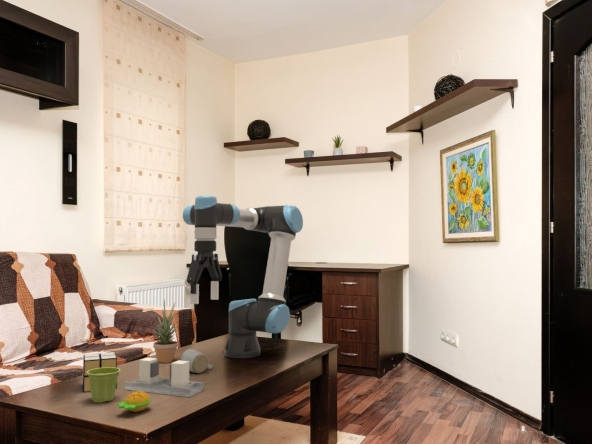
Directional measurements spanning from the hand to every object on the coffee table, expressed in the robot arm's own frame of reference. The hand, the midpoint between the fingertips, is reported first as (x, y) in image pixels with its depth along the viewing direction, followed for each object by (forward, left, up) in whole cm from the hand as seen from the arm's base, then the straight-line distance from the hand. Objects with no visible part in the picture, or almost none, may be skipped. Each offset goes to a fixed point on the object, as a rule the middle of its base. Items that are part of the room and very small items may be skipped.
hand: (204, 301), depth 174 cm
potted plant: (-19, -29, -27) cm, 44 cm away
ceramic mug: (-10, -9, -27) cm, 30 cm away
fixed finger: (+15, -12, -25) cm, 32 cm away
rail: (+15, -6, -27) cm, 31 cm away
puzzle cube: (+19, -28, -27) cm, 43 cm away
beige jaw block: (+15, 0, -26) cm, 30 cm away
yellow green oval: (+36, -1, -27) cm, 45 cm away
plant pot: (+30, -17, -27) cm, 44 cm away
